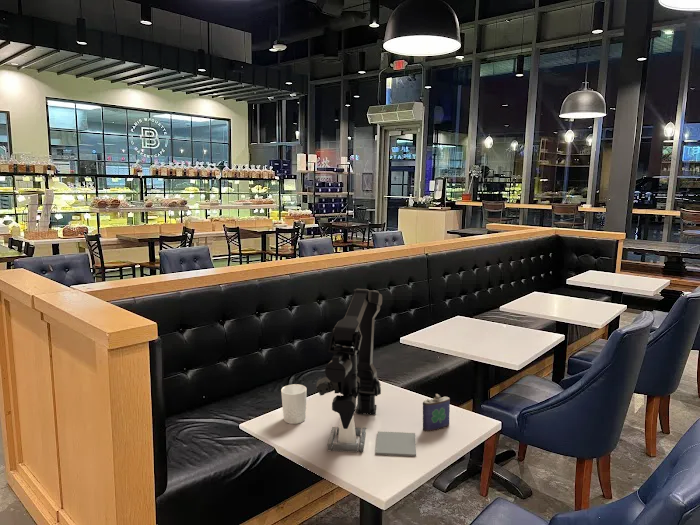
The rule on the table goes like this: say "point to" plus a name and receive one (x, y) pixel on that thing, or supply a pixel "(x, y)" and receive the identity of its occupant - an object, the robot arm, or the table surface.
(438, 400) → the flask
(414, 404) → the table surface
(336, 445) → the holder
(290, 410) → the white cup
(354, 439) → the pepper shaker
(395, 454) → the mat
